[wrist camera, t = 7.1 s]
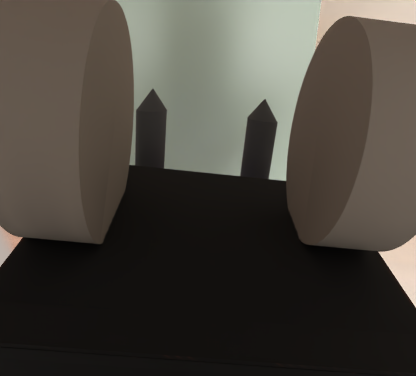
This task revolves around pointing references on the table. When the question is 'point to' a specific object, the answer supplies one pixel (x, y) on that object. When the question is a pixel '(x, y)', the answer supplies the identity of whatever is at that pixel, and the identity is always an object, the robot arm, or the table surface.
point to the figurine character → (201, 213)
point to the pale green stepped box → (220, 73)
